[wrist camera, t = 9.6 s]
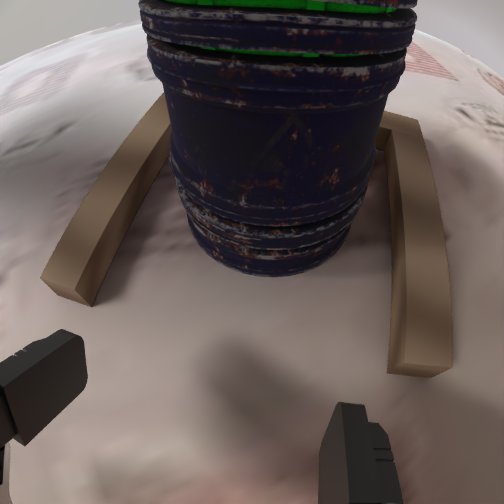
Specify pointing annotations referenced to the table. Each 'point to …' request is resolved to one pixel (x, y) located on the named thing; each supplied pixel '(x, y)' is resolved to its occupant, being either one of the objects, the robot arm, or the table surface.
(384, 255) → the table surface
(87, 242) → the walnut bay
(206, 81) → the dark blue ridged cylinder
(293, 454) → the table surface
